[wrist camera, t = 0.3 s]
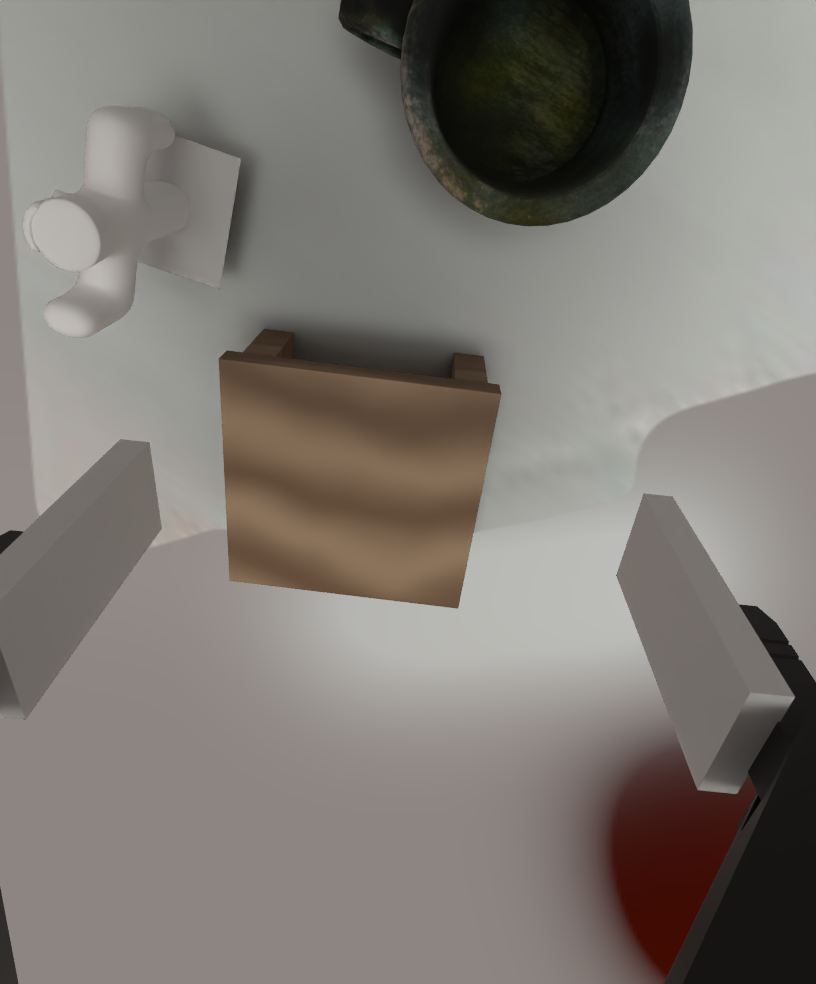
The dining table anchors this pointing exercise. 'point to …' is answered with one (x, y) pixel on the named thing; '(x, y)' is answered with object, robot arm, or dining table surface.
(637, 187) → the dining table surface
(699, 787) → the robot arm
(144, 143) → the figurine
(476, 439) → the walnut stool
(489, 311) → the dining table surface
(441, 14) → the mug
